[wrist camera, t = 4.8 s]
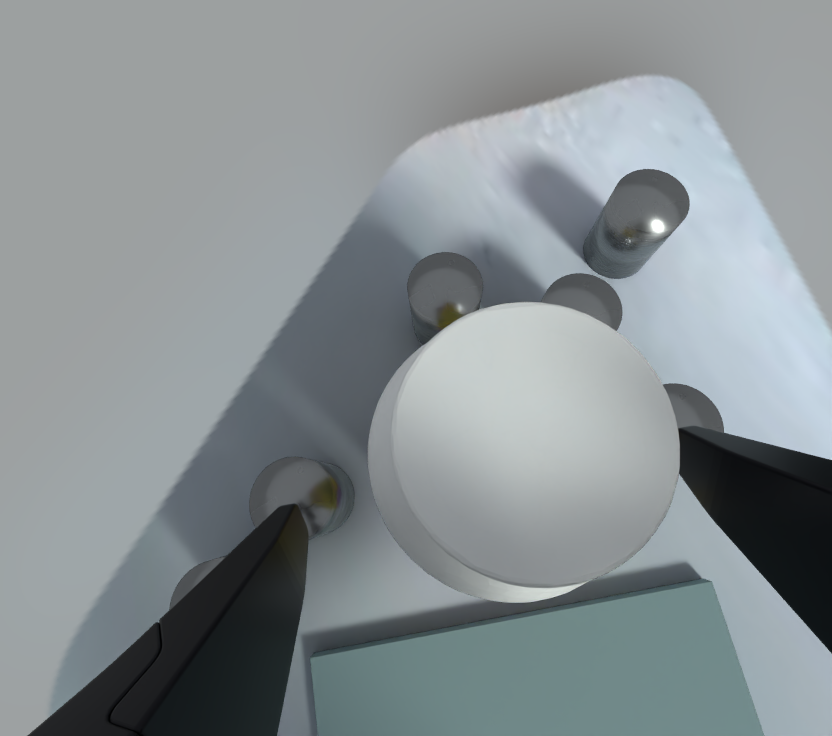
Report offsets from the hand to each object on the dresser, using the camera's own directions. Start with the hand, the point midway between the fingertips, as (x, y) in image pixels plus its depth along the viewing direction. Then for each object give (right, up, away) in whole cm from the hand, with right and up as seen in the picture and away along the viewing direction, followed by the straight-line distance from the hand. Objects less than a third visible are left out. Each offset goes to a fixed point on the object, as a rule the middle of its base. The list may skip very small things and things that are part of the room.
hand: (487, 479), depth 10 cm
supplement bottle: (+1, -2, +9) cm, 10 cm away
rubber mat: (+3, -12, +6) cm, 14 cm away
